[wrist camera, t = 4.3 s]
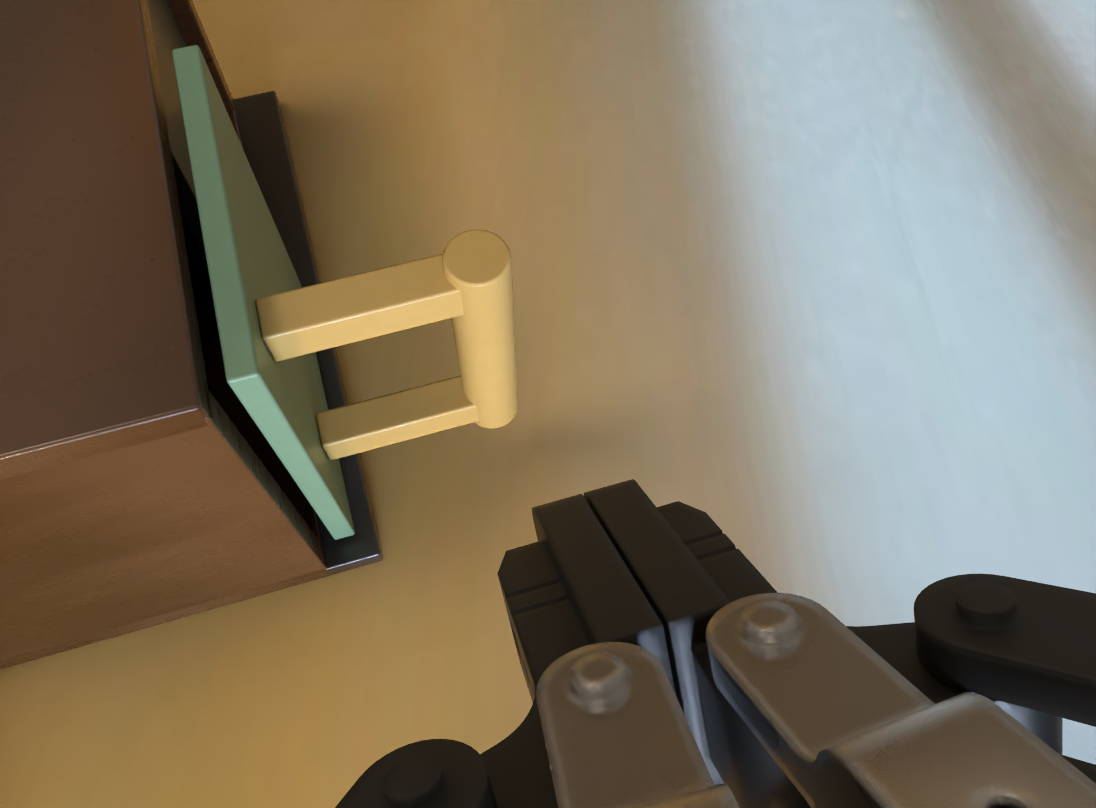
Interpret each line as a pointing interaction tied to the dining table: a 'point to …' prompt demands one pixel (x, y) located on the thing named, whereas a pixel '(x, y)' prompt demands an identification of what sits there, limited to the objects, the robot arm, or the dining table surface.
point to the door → (336, 318)
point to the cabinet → (132, 344)
